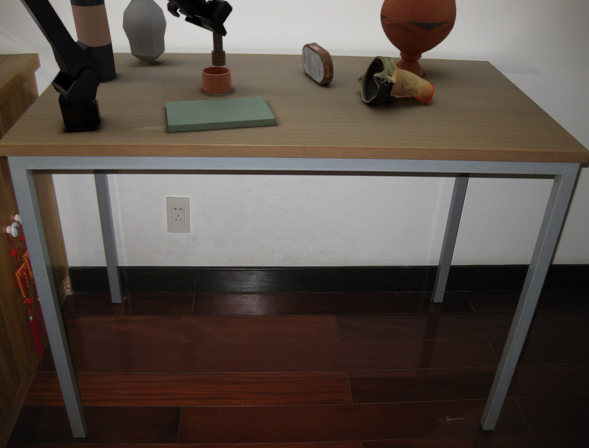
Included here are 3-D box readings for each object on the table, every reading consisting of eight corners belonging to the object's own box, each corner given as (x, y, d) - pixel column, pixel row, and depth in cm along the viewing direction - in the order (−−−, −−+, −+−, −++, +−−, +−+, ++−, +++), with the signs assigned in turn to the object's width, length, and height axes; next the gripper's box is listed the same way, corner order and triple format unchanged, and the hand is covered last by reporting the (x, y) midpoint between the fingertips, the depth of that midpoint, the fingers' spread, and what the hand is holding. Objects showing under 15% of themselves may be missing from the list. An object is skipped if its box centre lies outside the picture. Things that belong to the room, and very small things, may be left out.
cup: (204, 96, 117) (202, 75, 114) (201, 86, 123) (200, 66, 120) (233, 95, 119) (232, 74, 116) (229, 85, 124) (228, 65, 121)
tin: (333, 88, 125) (336, 54, 121) (321, 89, 124) (324, 55, 120) (310, 70, 137) (311, 38, 132) (299, 71, 136) (300, 39, 131)
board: (168, 132, 100) (168, 125, 99) (166, 108, 110) (165, 101, 110) (275, 125, 105) (275, 118, 104) (263, 102, 115) (263, 96, 115)
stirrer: (212, 66, 115) (209, 6, 107) (211, 62, 117) (208, 3, 110) (226, 66, 115) (224, 6, 108) (225, 62, 118) (222, 3, 110)
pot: (456, 72, 110) (385, 46, 104) (439, 122, 112) (369, 100, 106) (417, 73, 126) (355, 51, 120) (403, 117, 128) (341, 97, 122)
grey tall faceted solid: (172, 69, 133) (159, -59, 116) (128, 71, 131) (108, -60, 114) (169, 57, 142) (157, -64, 125) (128, 58, 140) (110, -64, 123)
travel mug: (108, 83, 122) (92, -4, 111) (79, 80, 123) (61, -7, 112) (123, 74, 128) (109, -10, 117) (95, 71, 129) (79, -13, 118)
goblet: (450, 86, 130) (473, -19, 116) (377, 83, 130) (391, -22, 115) (435, 64, 145) (453, -31, 131) (369, 61, 145) (381, -34, 131)
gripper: (222, -44, 95) (267, 11, 107) (173, -54, 106) (219, -3, 119) (189, 5, 95) (238, 54, 107) (144, -11, 107) (193, 35, 119)
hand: (222, 33), depth 113 cm, fingers closed on stirrer, 2 cm apart
